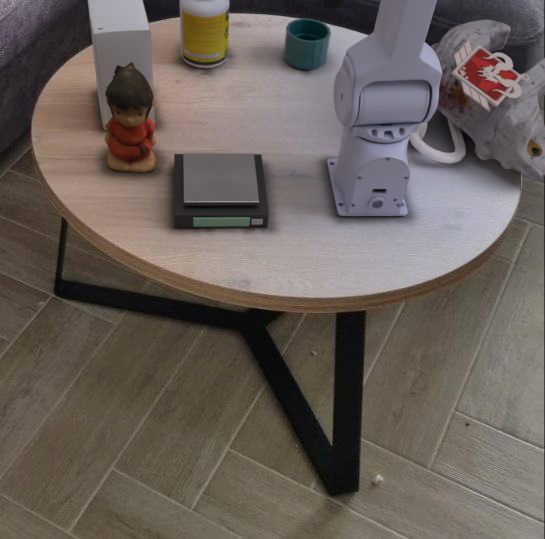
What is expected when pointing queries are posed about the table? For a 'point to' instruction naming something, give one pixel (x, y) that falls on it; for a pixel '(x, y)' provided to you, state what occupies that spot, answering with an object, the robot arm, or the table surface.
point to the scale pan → (219, 179)
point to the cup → (306, 43)
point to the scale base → (219, 214)
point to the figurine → (130, 122)
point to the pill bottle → (204, 32)
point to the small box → (119, 44)
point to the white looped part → (435, 154)
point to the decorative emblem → (486, 75)
